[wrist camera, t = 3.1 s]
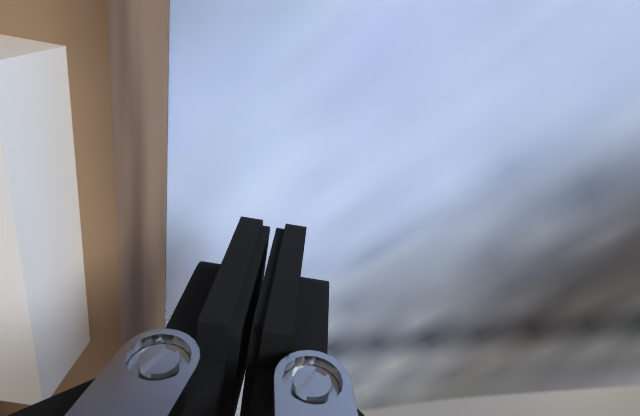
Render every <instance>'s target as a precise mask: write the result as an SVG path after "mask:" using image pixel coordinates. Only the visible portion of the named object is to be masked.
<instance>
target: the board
mask: <svg viewBox="0 0 640 416" xmlns="http://www.w3.org/2000/svg"><path fill="white" fill-rule="evenodd" d="M169 7H170V0H0V34H1V35H7V36H12V37H18V38H23V39H29V40H35V41H40V42H46V43H52V44H57V45H63V46H66V55H67V67H68V79H69V91H70V103H71V115H72V127H73V139H74V151H75V163H76V175H77V188H78V200H79V212H80V224H81V236H82V248H83V260H84V272H85V284H86V296H87V308H88V320H89V332H90V342H89V343H88V345H87V346H86V348H85V349H84V350H83V352H82V353H81V355H80V356H79V357H78V359H77V360H76V362H75V363H74V364H73V366H72V367H71V369H70V370H69V372H68V373H67V374H66V376H65V377H64V379H63V380H62V381H61V383H60V384H59V386H58V387H57V389H56V390H55V391H54V393H53V394H52V396H54V395H56V394H59V393H61V392H64V391H66V390H68V389H71V388H73V387H75V386H78V385H80V384H82V383H85V382H87V381H89V380H92V379H94V378H96V377H97V376H98V375H99V374H100V373H101V371H102V370H103V369H104V368H105V367H106V365H107V364H108V363H109V362H110V361H111V359H112V358H113V357H114V356H115V355H116V353H117V352H118V351H119V350H120V349H121V347H122V346H123V345H124V344H125V343H127V342H128V341H129V340H130V339H131V338H133V337H135V336H137V335H138V334H140V333H142V332H146V331H150V330H153V329H165V278H166V210H167V142H168V75H169ZM52 396H51V397H52ZM28 406H31V405H27V404H21V403H14V402H7V401H0V416H7V415H10V414H12V413H14V412H17V411H19V410H21V409H24V408H26V407H28Z"/></svg>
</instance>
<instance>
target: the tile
mask: <svg viewBox="0 0 640 416" xmlns="http://www.w3.org/2000/svg"><path fill="white" fill-rule="evenodd" d="M89 342H90V332H89V320H88V308H87V296H86V284H85V272H84V260H83V248H82V236H81V224H80V212H79V200H78V188H77V175H76V163H75V151H74V139H73V127H72V115H71V103H70V91H69V79H68V67H67V55H66V46H63V45H57V44H52V43H46V42H40V41H35V40H29V39H23V38H18V37H12V36H7V35H1V34H0V401H7V402H14V403H21V404H27V405H33V404H35V403H38V402H40V401H42V400H45V399H47V398H49V397H51V396H52V394H53V393H54V391H55V390H56V389H57V387H58V386H59V384H60V383H61V381H62V380H63V379H64V377H65V376H66V374H67V373H68V372H69V370H70V369H71V367H72V366H73V364H74V363H75V362H76V360H77V359H78V357H79V356H80V355H81V353H82V352H83V350H84V349H85V348H86V346H87V345H88V343H89Z"/></svg>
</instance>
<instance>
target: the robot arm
mask: <svg viewBox="0 0 640 416" xmlns="http://www.w3.org/2000/svg"><path fill="white" fill-rule="evenodd" d="M306 228H307V227H303V226H297V225H291V224H286V225H285V229H281V228H276V232H275V236H274V240H273V244H272V248H271V252H270V256H269V260H268V264H267V268H266V272H265V276H264V271H265V263H266V256H267V248H268V241H269V233H270V227H268V226H263V220H260V219H254V218H248V217H241V218H240V220H239V223H238V225H237V228H236V230H235V232H234V235H233V237H232V240H231V242H230V244H229V247H228V249H227V252H226V254H225V256H224V259H223V261H222V263H221V264H216V263H209V262H203V261H201V262H199V263H198V265H197V267H196V269H195V271H194V273H193V275H192V277H191V279H190V281H189V283H188V285H187V287H186V289H185V291H184V293H183V295H182V297H181V299H180V301H179V303H178V305H177V307H176V309H175V311H174V313H173V315H172V317H171V319H170V320H169V322H168V324H167V326H166V328H165V329H153V330H150V331H146V332H142V333H140V334H138V335H137V336H135V337H133V338H131V339H130V340H129V341H128V342H127V343H125V344H124V345H123V346H122V347H121V349H120V350H119V351H118V352H117V353H116V355H115V356H114V357H113V358H112V359H111V361H110V362H109V363H108V364H107V365H106V367H105V368H104V369H103V370H102V371H101V373H100V374H99V375H98V376H97V377H96V378H94V379H92V380H89V381H87V382H85V383H82V384H80V385H78V386H75V387H73V388H71V389H68V390H66V391H64V392H61V393H59V394H56V395H54V396H52V397H49V398H47V399H45V400H42V401H40V402H38V403H35V404H33V405H31V406H28V407H26V408H24V409H21V410H19V411H17V412H14V413H12V414H10V415H7V416H235V412H236V408H237V404H238V400H239V396H240V392H241V387H242V383H243V379H244V375H245V381H244V389H243V397H242V404H241V412H240V416H364V415H363V414H362V413H361V412H360V411H359V410H358V409H357V407H356V403H355V398H354V393H353V389H352V384H351V380H350V377H349V375H348V372H347V370H346V369H345V368H344V367H343V365H342V364H341V363H340V362H339V361H337V360H336V359H335V358H333V357H332V356H330V355H327V347H328V309H329V281H323V280H317V279H311V278H304V277H300V275H301V267H302V260H303V252H304V244H305V236H306ZM263 278H264V280H263ZM245 371H246V373H245Z"/></svg>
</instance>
